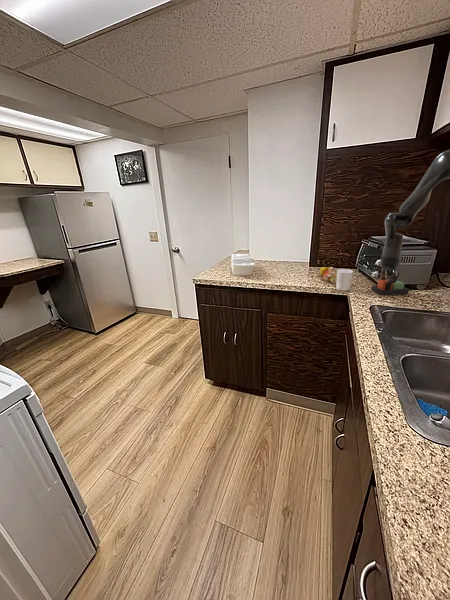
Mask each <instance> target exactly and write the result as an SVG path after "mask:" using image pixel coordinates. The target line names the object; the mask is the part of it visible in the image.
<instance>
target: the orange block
mask: <svg viewBox="0 0 450 600" xmlns="http://www.w3.org/2000/svg"><path fill="white" fill-rule="evenodd" d="M385 287H386V279H383V280H380V279H378V280H377V288H379V289H381V290H385ZM392 287H393V283H392V284H391V289H390V290H392Z"/></svg>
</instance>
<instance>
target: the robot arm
mask: <svg viewBox="0 0 450 600" xmlns="http://www.w3.org/2000/svg"><path fill="white" fill-rule="evenodd" d="M445 180H450V149H448V150H444V151H442V152H441V153H439V154H438V155H437V156H436V157H435V158H434V160H433V161H432V162H431V164H430V166H429V167H428V169H427V170H426V172H425V173H424V175H423V177H422V178H421V180H420V181H419V183H418V184H417V186H416V187H415V188H414V190H413V192H412V193H411V194H410V195H409V196H408V197H407V198H406V199H405V201H404V202H403V203H402V204H401V205H400V207H399V211H398V212H389V214H387V215H386V217H385V219H384V231H385V241H384V244H383V245H384V246H383V250H382V254H381V258H380V265H381V266H377V279H379V280H383V279H386V287H385V290H390V289H391V284H392V283H395V282H396V281H398V278H399V276H400V272H397V271H396V270H397V269H396V268H397V267H398V266H399V264H400V261H401V255H402V246H403V242H404V234H402V233H399V232H396V229H405V228H407V227H409V226H411V225H412V223H413V221H414V219H415V217H416V216H417V214H418V213H419V212H420V211H421V210H422V209H423V208H424V207H425V206H426V205H427V204H428V203H429V201H430V198H431V195H432V191H433V189H434V188H435V187H436V186H437V185H438V184H440V183H441V182H443V181H445Z"/></svg>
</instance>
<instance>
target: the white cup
mask: <svg viewBox="0 0 450 600" xmlns="http://www.w3.org/2000/svg"><path fill="white" fill-rule="evenodd" d="M336 272H337V277H336V278H337V279H336V282H335V285H336V286H335V288H336V290H338V291H345V292H347V291H350V289H351V285H352V281H353V276H354V271H353V270H352V269H347V268H339V269H337V270H336Z"/></svg>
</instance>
